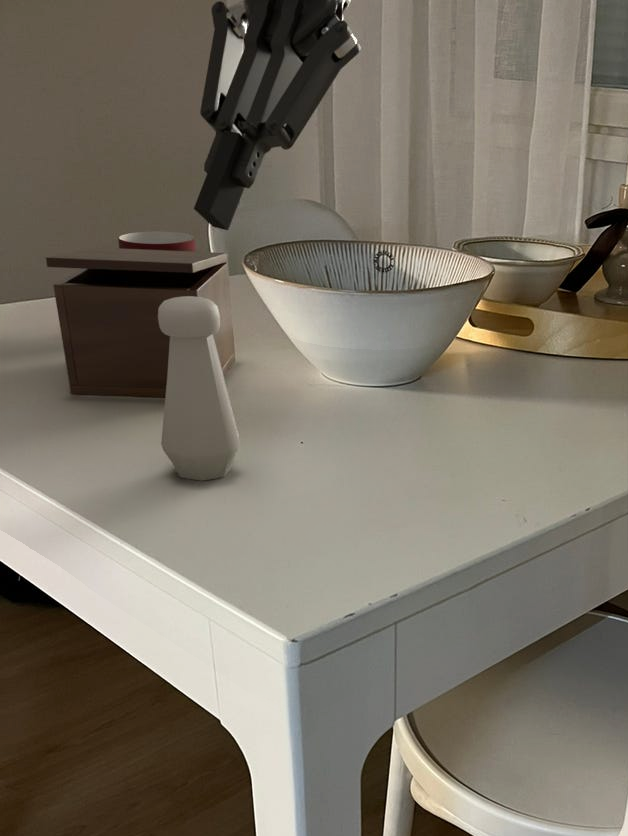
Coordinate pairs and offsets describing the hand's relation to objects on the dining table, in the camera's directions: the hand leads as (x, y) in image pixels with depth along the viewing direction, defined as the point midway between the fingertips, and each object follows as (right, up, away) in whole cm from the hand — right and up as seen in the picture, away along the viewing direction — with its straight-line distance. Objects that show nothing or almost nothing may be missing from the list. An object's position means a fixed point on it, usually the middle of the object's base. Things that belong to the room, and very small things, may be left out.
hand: (211, 219), depth 80 cm
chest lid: (-11, +2, +16) cm, 19 cm away
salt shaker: (-1, -20, +1) cm, 20 cm away
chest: (-11, -7, +22) cm, 25 cm away
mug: (-15, +3, +38) cm, 41 cm away
